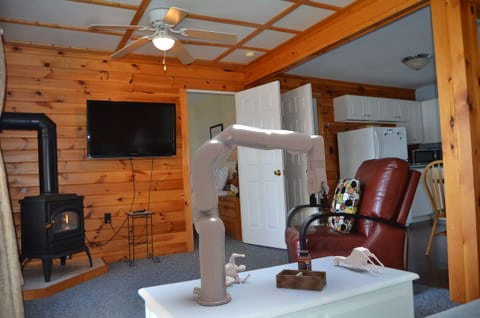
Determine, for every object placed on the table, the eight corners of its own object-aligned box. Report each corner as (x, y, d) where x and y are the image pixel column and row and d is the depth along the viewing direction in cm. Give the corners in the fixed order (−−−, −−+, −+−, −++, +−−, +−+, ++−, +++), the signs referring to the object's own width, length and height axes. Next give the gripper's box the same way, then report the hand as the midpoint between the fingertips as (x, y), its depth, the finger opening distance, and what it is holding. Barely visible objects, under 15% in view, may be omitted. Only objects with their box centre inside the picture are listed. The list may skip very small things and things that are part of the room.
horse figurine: (376, 293, 162) (336, 262, 182) (385, 260, 157) (344, 233, 178) (368, 295, 159) (329, 264, 180) (378, 262, 155) (336, 234, 175)
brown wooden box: (276, 287, 149) (275, 275, 149) (284, 281, 158) (283, 269, 158) (321, 291, 141) (320, 277, 141) (326, 283, 150) (325, 271, 150)
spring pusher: (295, 284, 147) (294, 276, 147) (300, 279, 154) (300, 272, 154) (297, 285, 146) (297, 276, 147) (302, 280, 153) (302, 272, 153)
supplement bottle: (312, 279, 159) (310, 252, 159) (298, 279, 160) (296, 252, 160) (312, 275, 164) (310, 249, 165) (299, 275, 166) (297, 250, 166)
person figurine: (212, 265, 148) (243, 249, 160) (195, 267, 157) (226, 252, 170) (222, 296, 147) (253, 278, 159) (205, 297, 156) (235, 280, 168)
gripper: (299, 167, 159) (301, 207, 158) (317, 165, 142) (320, 209, 141) (314, 166, 161) (317, 205, 160) (334, 164, 144) (337, 208, 143)
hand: (318, 207), depth 150 cm, fingers open, 9 cm apart
